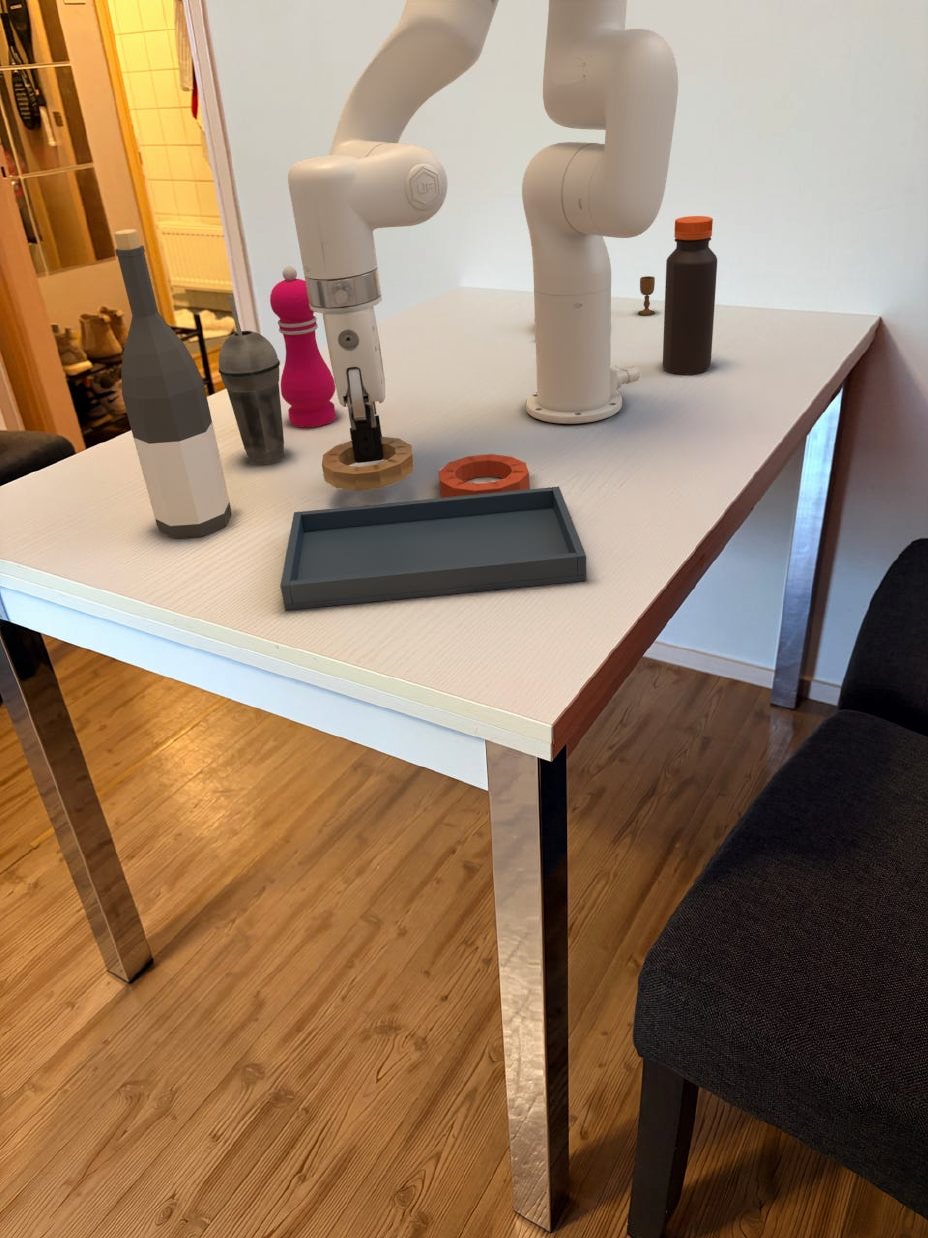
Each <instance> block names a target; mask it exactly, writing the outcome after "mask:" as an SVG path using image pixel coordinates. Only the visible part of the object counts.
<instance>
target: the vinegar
mask: <svg viewBox="0 0 928 1238" xmlns="http://www.w3.org/2000/svg"><path fill="white" fill-rule="evenodd" d="M713 221H714V219H713V217H711V216H706V215H704V216H703V215H690V216H683V217H679V218H675V220H674V242H676V247H675V249H674V250H673V251H672V252H671V253H670V254H669V256H668V257H667V258H666V263H665V290H664V294H665V295H664V316H663V319H664V320H663V339H662V340H663V342H662V368H663V369H664V371H666V372H668V373H671V374H677V375H693V374H694V375H695V374H700V373H703V372H706V371H707V370H709V369H710V367H712V366H711V365H712V353H713V352H712V351H713V339H714V338H713V335H714V323H715V322H714V321H715V304H716V290H717V275H718V274H717V272H718V257H717V255H716V253H714V251H713V250H712V249H711V248H710V241H711V240H712V237H713V223H714V222H713Z"/></svg>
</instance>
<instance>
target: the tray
mask: <svg viewBox="0 0 928 1238" xmlns="http://www.w3.org/2000/svg"><path fill="white" fill-rule="evenodd" d="M583 581H587V554H586V552H585V549H584V546H583V545H582V542H581V539H580V537H579V533H578V531H577V529H576V527H575V524H574V521H573V519H572V516H571V513H570V511H569V508H568V506H567V503H566V501H565V498H564V496H563V493H562V491H561V489H560V486H551V487H540V488H539V487H538V488H531V489H530V488H529V489H528V490H518V491H508V492H497V493H487V494H477V495H466V496H456V497H446V498H442V497H437V498H428V499H427V498H426V499H417V500H407V501H397V502H396V501H395V502H385V503H384V502H383V503H373V504H365V505H364V504H363V505H356V506H355V505H353V506H345V507H334V508H323V509H314V510H304V511H303V510H302V511H293V515H292V521H291V527H290V532H289V537H288V543H287V548H286V553H285V560H284V564H283V569H282V576H281V581H280V592H281V597H282V600H283V601H282V602H283V606H284V607H283V608H284V611H294V610H301V609H302V610H303V609H313V608H323V607H332V606H333V607H334V606H342V605H354V604H363V603H364V604H365V603H374V602H383V601H384V602H385V601H393V600H394V601H395V600H403V599H414V598H424V597H433V596H434V597H435V596H443V595H454V594H463V593H472V592H473V593H474V592H483V591H484V592H485V591H493V590H494V591H495V590H503V589H504V590H505V589H514V588H523V587H524V588H525V587H533V586H545V585H554V584H564V583H575V582H583Z"/></svg>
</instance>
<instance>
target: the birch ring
mask: <svg viewBox="0 0 928 1238" xmlns="http://www.w3.org/2000/svg"><path fill="white" fill-rule="evenodd" d="M381 443H382V450H383V459H382V460H381V461H380V462H378V463H376V464H371V465H361V466H358V465H357V466H356V465H354V464H358V463H357V462H355V458H354V452H353V446H352V440H349V441H347V442H342V443H340V444H337V445H335V446H333V447H332V448H331V449H329V450H327V452H325V453H324V454H323V455H322V461H321V467H322V468H321V469H322V473H323V474H322V475H323V479H324V482H326V483H327V484H329V485H331V486H332V487H334V488H335V489H340V490H347V491H354V492H355V491H356V492H359V491H367V490H376V489H383V488H386V487H388V486H391V485H394V484H398V483H400V482H402V481H404V480H405V479H406V478H407V477H408V476H410V475H411V474H412V473H413V472H414V471H415V464H414V463H415V461H414V455H413V446H412V444H411V443H409V442H407V441H405V440H403V439H401V438H398V437H391V436H390V437H389V436H382V437H381Z"/></svg>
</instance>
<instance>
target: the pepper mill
mask: <svg viewBox="0 0 928 1238" xmlns="http://www.w3.org/2000/svg"><path fill="white" fill-rule="evenodd" d="M297 276H298V272H297V270H296V269H295V268H294V267H293V266H289V265H288V266H285V267H284V268H283V270H282V277H283V279H284V280H283V279H282V280H281V281H279V282H278V283H276V284H275V285H274V286H273V287H272V290H271V292H270V297H269V303H270V308H271V311H272V312H273V313H274V315H276V316H277V317H278V318H279V319H278V321H277V325H278V327H279V328H278V332H279V333H280V334H282V336H283V339H284V345H285V346H284V348H285V361H284V364H283V365H284V366H283V370H282V373H281V377H280V395H281V397H282V399H283V400H284V401H285V402H286V403H287V404H288V405H290V406H289V408H288V411H287V412H288V418H289V422H290V424H291V425H292V426H294V427H297V428H306V429H307V428H317V427H322V426H326V425H327V424H330V423H332V422H333V421H334V420H336V417H337V414H336V407H335V404H334V403H333V401H331V400H332V398H333V396H334V395H335V392H336V386H335V381H334V376H333V373H332V371H331V370H330V368H329V366H328V365H327V363H326V361H325V359H324V358H323V356H322V354H321V352H320V350H319V347H318V343H317V338H316V337H317V336H316V330H317V329H318V327H319V325H318V323H317V319H318V318H317V317H316V316H315V315H314V314H315V312H314V311H312V310H311V309H310V305H309V299H308V293H307V288H306V282H305V279H302V278H297Z"/></svg>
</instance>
